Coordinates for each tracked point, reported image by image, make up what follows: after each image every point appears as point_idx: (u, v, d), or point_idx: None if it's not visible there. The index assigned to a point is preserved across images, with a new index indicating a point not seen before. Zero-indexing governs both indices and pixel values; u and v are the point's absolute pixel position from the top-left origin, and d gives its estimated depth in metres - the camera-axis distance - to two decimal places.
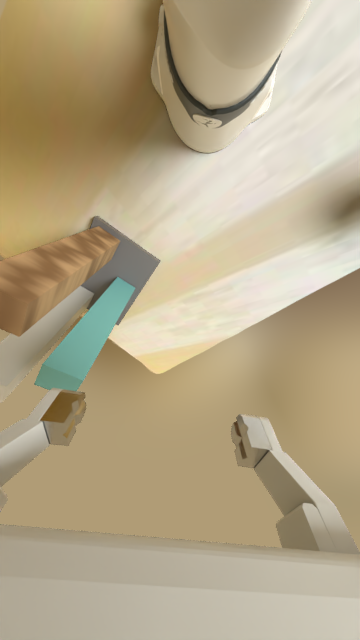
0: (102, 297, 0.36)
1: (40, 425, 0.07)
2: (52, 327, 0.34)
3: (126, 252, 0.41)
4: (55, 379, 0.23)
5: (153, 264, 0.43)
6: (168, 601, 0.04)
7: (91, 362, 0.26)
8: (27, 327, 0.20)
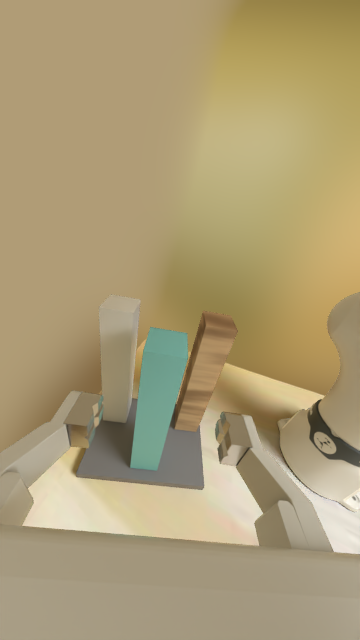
0: None
1: (63, 428, 0.07)
2: (131, 367, 0.34)
3: (189, 441, 0.40)
4: (170, 339, 0.23)
5: (197, 479, 0.34)
6: (168, 601, 0.04)
7: (182, 374, 0.22)
8: (208, 331, 0.28)
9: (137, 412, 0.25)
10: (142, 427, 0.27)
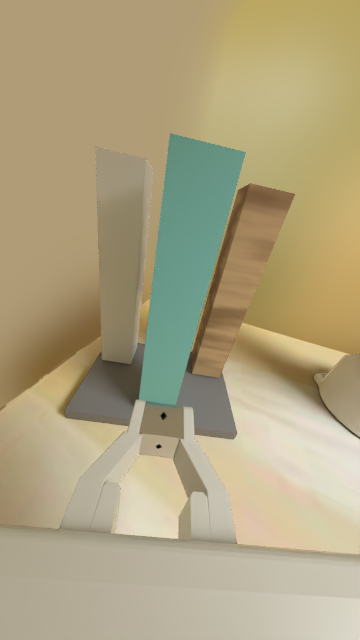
0: None
1: (140, 438, 0.08)
2: (139, 274, 0.25)
3: (212, 387, 0.31)
4: None
5: (227, 425, 0.26)
6: (168, 601, 0.04)
7: (230, 204, 0.13)
8: (252, 196, 0.20)
9: (153, 294, 0.17)
10: (158, 327, 0.19)
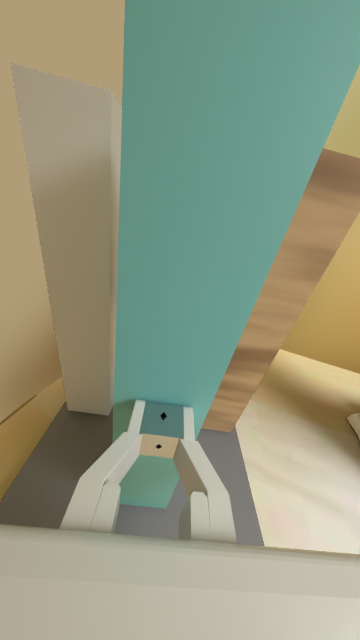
0: None
1: (140, 437, 0.08)
2: (114, 297, 0.16)
3: (221, 449, 0.22)
4: None
5: (248, 529, 0.17)
6: (168, 601, 0.04)
7: None
8: None
9: (119, 361, 0.08)
10: None
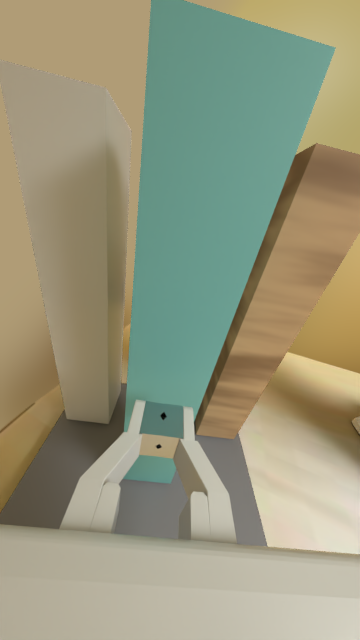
0: None
1: (140, 438, 0.08)
2: (113, 304, 0.16)
3: (225, 457, 0.22)
4: None
5: (254, 543, 0.16)
6: (168, 601, 0.04)
7: None
8: (315, 170, 0.10)
9: (133, 343, 0.10)
10: (144, 388, 0.12)
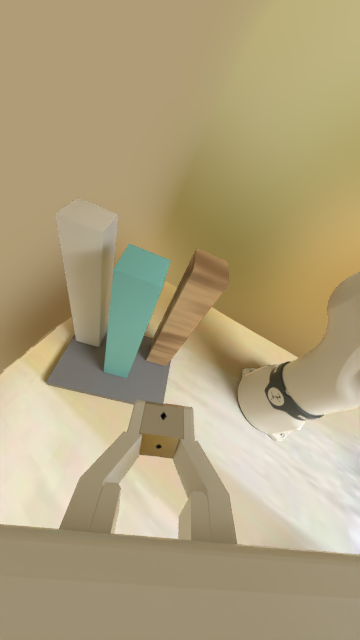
0: None
1: (140, 438, 0.08)
2: (103, 297, 0.30)
3: (158, 373, 0.43)
4: (149, 263, 0.20)
5: None
6: (168, 601, 0.04)
7: None
8: (194, 277, 0.23)
9: (109, 330, 0.26)
10: (113, 343, 0.28)
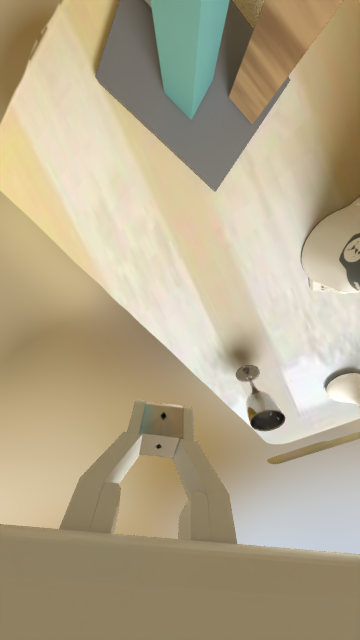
0: (226, 8, 0.17)
1: (140, 437, 0.08)
2: None
3: (235, 133, 0.29)
4: None
5: (214, 180, 0.32)
6: (168, 601, 0.04)
7: None
8: None
9: None
10: (160, 3, 0.15)
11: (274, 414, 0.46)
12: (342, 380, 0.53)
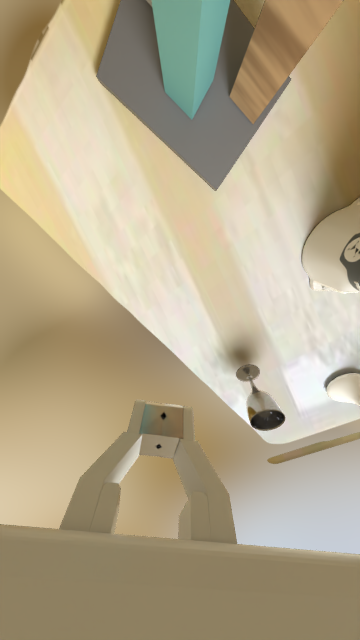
0: (227, 8, 0.17)
1: (140, 438, 0.08)
2: None
3: (236, 132, 0.29)
4: None
5: (215, 179, 0.32)
6: (168, 601, 0.04)
7: None
8: None
9: None
10: (161, 3, 0.15)
11: (274, 414, 0.46)
12: (342, 380, 0.53)
